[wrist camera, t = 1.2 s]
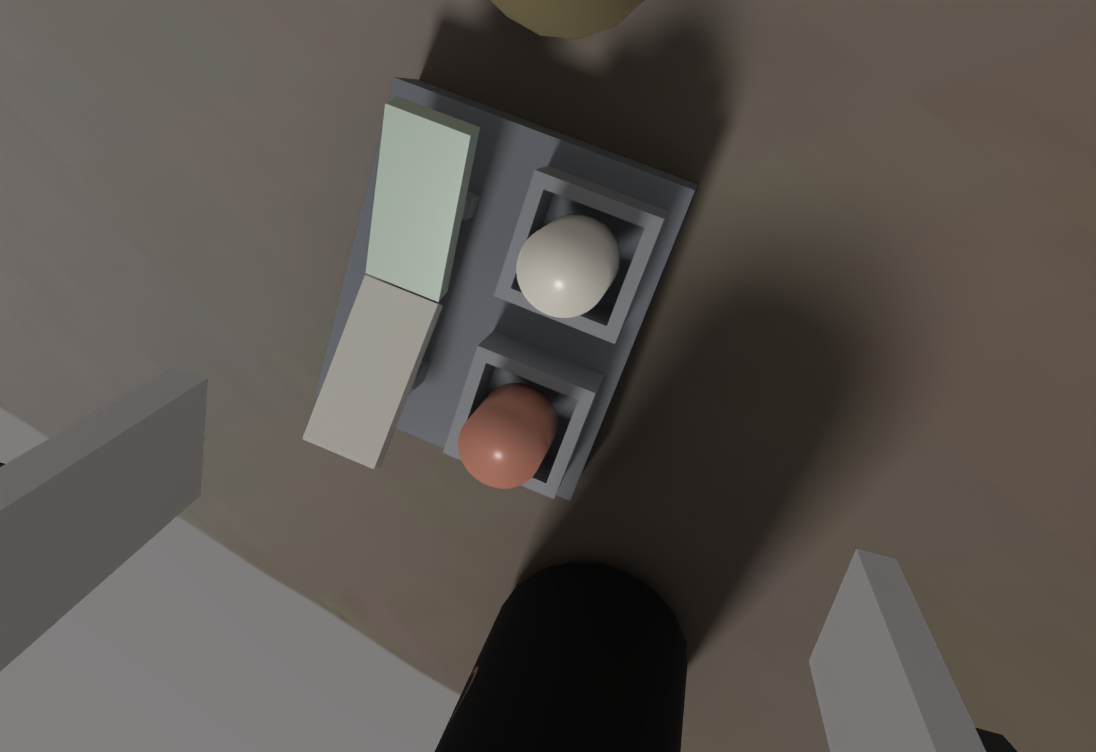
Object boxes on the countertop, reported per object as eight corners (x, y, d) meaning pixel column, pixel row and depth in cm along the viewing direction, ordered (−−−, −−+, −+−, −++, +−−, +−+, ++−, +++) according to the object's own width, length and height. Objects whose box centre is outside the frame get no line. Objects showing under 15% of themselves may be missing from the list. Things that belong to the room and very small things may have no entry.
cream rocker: (447, 306, 38) (437, 303, 36) (385, 464, 38) (373, 469, 36) (377, 278, 38) (364, 274, 36) (317, 435, 39) (302, 439, 37)
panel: (697, 184, 37) (692, 196, 32) (580, 475, 43) (559, 526, 37) (418, 79, 38) (369, 74, 33) (341, 376, 44) (289, 412, 39)
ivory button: (633, 231, 33) (623, 244, 30) (602, 311, 34) (589, 331, 31) (552, 200, 33) (533, 210, 30) (524, 280, 35) (504, 297, 32)
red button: (568, 400, 36) (553, 428, 33) (543, 468, 37) (525, 501, 34) (494, 370, 36) (472, 395, 33) (471, 438, 38) (448, 468, 34)
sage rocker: (487, 120, 32) (470, 135, 31) (454, 283, 37) (438, 302, 36) (405, 90, 33) (385, 103, 31) (383, 255, 38) (365, 272, 36)
